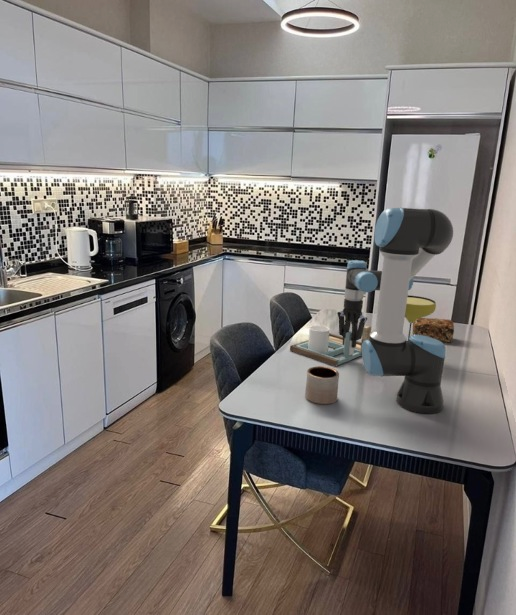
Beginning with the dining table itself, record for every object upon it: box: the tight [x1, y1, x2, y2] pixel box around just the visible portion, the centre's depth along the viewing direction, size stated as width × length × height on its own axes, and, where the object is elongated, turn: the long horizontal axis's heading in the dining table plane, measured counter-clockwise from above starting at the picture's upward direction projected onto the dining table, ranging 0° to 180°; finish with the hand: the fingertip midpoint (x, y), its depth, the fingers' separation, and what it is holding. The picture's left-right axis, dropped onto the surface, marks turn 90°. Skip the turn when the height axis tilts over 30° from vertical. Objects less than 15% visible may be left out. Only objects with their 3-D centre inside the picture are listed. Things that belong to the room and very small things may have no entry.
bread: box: [412, 317, 455, 343], centre depth 233 cm, size 19×11×10 cm, turn 73°
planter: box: [304, 365, 340, 405], centre depth 161 cm, size 11×11×10 cm
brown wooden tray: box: [289, 332, 362, 367], centre depth 210 cm, size 29×24×2 cm
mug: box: [307, 325, 330, 354], centre depth 208 cm, size 9×12×11 cm
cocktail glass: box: [404, 295, 437, 341], centre depth 205 cm, size 18×18×25 cm
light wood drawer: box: [329, 325, 372, 350], centre depth 215 cm, size 7×22×12 cm, turn 46°
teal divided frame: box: [296, 330, 362, 366], centre depth 205 cm, size 17×22×12 cm
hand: (348, 353), depth 199 cm, fingers closed on teal divided frame, 2 cm apart
